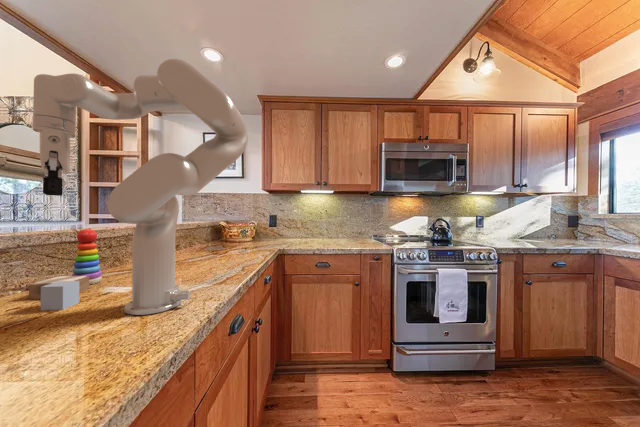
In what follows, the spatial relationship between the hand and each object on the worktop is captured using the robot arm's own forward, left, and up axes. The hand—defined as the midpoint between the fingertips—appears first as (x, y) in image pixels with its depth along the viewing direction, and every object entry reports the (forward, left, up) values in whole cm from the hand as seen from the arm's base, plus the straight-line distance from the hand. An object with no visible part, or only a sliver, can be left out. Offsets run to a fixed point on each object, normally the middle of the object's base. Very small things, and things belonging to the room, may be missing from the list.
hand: (53, 194), depth 64 cm
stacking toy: (+9, -23, -29) cm, 38 cm away
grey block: (-1, -1, -29) cm, 29 cm away
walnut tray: (+8, -12, -29) cm, 33 cm away
